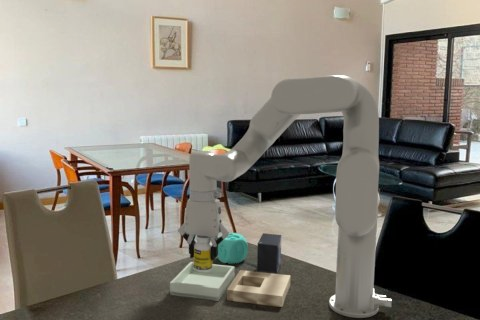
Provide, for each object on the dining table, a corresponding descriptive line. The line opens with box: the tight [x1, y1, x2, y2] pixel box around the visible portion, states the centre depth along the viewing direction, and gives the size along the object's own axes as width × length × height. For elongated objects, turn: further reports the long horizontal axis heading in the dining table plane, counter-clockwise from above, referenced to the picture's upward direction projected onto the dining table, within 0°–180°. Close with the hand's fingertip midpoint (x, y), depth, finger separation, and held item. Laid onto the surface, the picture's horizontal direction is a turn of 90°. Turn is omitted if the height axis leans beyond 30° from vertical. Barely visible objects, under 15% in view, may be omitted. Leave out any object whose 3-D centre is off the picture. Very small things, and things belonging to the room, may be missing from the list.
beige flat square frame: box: [226, 269, 291, 308], centre depth 132 cm, size 15×14×3 cm
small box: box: [256, 232, 282, 274], centre depth 146 cm, size 11×6×10 cm, turn 168°
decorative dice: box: [216, 232, 249, 265], centre depth 156 cm, size 8×8×8 cm
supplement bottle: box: [193, 235, 214, 272], centre depth 134 cm, size 5×5×10 cm
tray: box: [169, 261, 236, 302], centre depth 136 cm, size 14×16×4 cm
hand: (203, 256), depth 135 cm, fingers closed on supplement bottle, 5 cm apart
